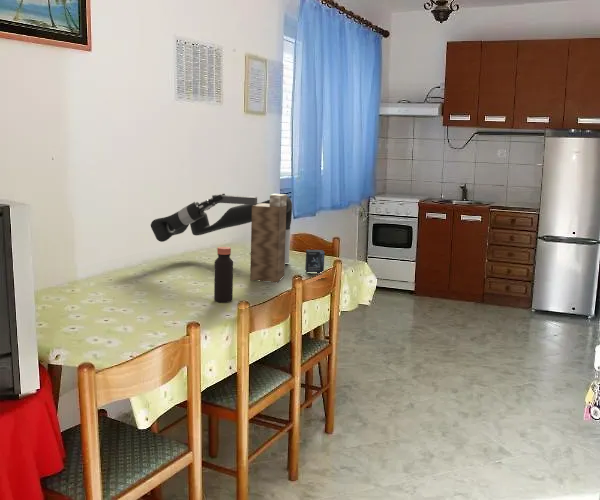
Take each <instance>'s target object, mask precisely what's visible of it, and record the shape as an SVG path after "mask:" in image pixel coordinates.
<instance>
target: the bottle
mask: <svg viewBox="0 0 600 500" xmlns="http://www.w3.org/2000/svg"><path fill="white" fill-rule="evenodd" d="M216 249H217V252H216V253H217V258H216V259H215V260H214V277H213V278H214V281H213V282H214V289H213V290H214V291H213V293H214V295H213V300H214V301H215V302H217V303H230V302H232V301H233V296H234V295H233V292H234V291H233V290H234V289H233V288H234V286H233V285H234V282H233V281H234V276H233V275H234V261H233V260H232V258H231V255H232V252H231V251H232V248H231V247H229V246H218V247H217V248H216Z"/></svg>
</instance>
